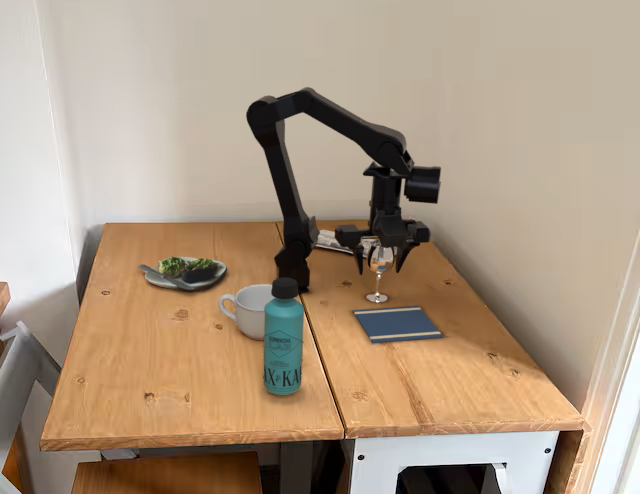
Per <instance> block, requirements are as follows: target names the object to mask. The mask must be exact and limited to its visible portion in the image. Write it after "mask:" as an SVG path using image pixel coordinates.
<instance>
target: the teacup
mask: <svg viewBox="0 0 640 494" xmlns="http://www.w3.org/2000/svg"><path fill="white" fill-rule="evenodd" d="M271 290H272V284H270V283H269V284H268V283H259V284H257V283H256V284H251V285H247V286H244V287H242V288H241V289H239V290H237V292H236V293H235V295H234V294H231V293H223V294H222V295H221V296H220V297H219V298H218V303H217V305H218V309H219V311H220V312H221V313H222V314H223V315H224V316H226V317H227V318H229V319H231V320H232V321H233V323H235V324H237V327H238V329H239V331H241V332H242V333H243V334H244V335H246V336H247V337H249V338H250V339H253V340H256V341H264V339H263V336H264V318H265V312H264V307H265V305H266V304H267V303H268V302H269V301H271V300H272V299H274V298H275V297H273V296H272V295H271ZM227 300H228V301H230V302H231V303H232V305H233V307H234V309H235V313H234V312H232V311H231V310H229V309H227V307H226V306H225V304H224V302H225V301H227Z"/></svg>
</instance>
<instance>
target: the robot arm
mask: <svg viewBox="0 0 640 494" xmlns="http://www.w3.org/2000/svg"><path fill="white" fill-rule="evenodd" d="M299 114H305V115H307V116H309V117H311V118H312V119H313V120H316V121H317V122H319V123H321V124H323V125H325V126H326V127H328V128H330V129H331V130H333V131H335V132H336V133H338V134H340V135H342V136H343V137H345V138H347V139H349V140H351V141H352V142H354V143H355V144H356V145H358V146H359V147H360V148H361V150H363V152H364V153H365V155H367V156H368V157H369V158H371V159H372V162H371V163H370V165H368V167H366V168H365V169H364V170H363V172H362V175H363V176H364V177H372V180H371V181H372V183H371V194H370V195H371V197H370V200H368V206H369V208H370V209H369V220H367V227H368V228H364V229H363V228H362V229H359V228H358V227H357V226H356V224H354V223H353V224H352V223H351V224H338V225H337V226H336V227H335V229H334V232H335V239H336V240H337V242H338V243H339V245H340V246H342V247H348V248H349V249H350V250H352V252H353V253H352V255H353V258H354V261H355V264H356V268H357V272H358V274H359V275H360V276H363V272H364V257H363V251H364V246H363V245H362V239H374V240H377V239H378V240H380V244H381V246H382V247H384V248H390V247H397V254H396V255H395V262H394V265H395V272H396V274H399V273H400V271H401V269H402V267H403V266H404V263H405V261H406V259H407V257H408V255H409V254H410V252H411V251H412V250H413V249H415V248H416V247H420V246H421V244H424V243H430V242H431V234H432V231H431V229H430V228H429V227H428V226H427V225H426V224H425V223H424V222H423V221H422V220H415V219H403V217H402V207H401V206H400V205H401V195H402V184H403V180H404V186H403V196H404V197H405V199H408V202H411V203H421V204H422V203H423V204H434V205H438V204H439V200H440V199H439V198H440V192H441V184H442V182H441V173H442V167H441V166H438V165H437V166H436V165H435V166H433V165H432V166H421V165H416V163H415V161H414V159H413V158H412V156H411V155H410V153H409V151H408V150H407V145H408V143H407V139H406V137H405V134H404V133H402V132H401V131H399V130H397V129H394V128H391V127H389V126H385V125H381V124H379V123H378V124H377V123H373V122H369V121H367V120H365V119H363V118H362V117H360V116H358V115H357V114H355V113H353V112H352V111H349V110H348V109H347V108H345V107H342V106H341V105H339V104H337V103H336V102H335V101H333V100H330V99H329V98H327V97H325V96H324V95H322V94H320V93H318V92H317V91H316V90H315V89H314V88H312V87H310V86H306V87H302V88H301V89H299V90H297V91H293V92H290V93H287V94H286V93H285V94H283V95H281V96H277V97H275V96H274V95H264V96H262V97H259V98H258V99H257V100H254V101H253V102H252V103H251V104H249V105H248V108H247V110H246V113H245V119H246V123H247V124H248V127H249V129H250V131H251V133H252V135H253V137H254V139H255V140H256V142H257V143H258V144H259V146H260V147H261V148H262V150H263V153H264V156H265V160H266V163H267V166H268V169H269V174H270V176H271V180H272V183H273V186H274V190H275V194H276V197H277V200H278V204H279V208H280V210H281V214H282V220H283V225H282V227H283V228H282V236H283V245H282V247H280V249H279V251H278V252H277V253H276V254H275V255H274V257H273V260H274V263H275V266H276V272H275V273H276V277H275V279H278V278H292V279H294V280H296V281H297V283H298V294H305V293H306V294H307V293H309V292H310V290H309V288H308V287H310V281H311V280H310V279H311V268H310V267H309V265H308V261H307V258H309V257H310V255H311V254H312V252H313V251H314V250H315V247H317V246H316V244H317V242H318V236H319V234H320V231H321V230H319V229H318V226H317V218H316V216H315V215H311V216H308V214H307V213H306V212H305V209H304V207H303V204H302V203H303V202H302V199H301V196H300V193H299V189H298V184H297V181H296V178H295V174H294V171H293V167H292V164H291V159H290V156H289V152H288V149H287V145H286V140H285V139H286V119H289V118H292V117H294V116H296V115H299Z"/></svg>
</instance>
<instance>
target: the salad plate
mask: <svg viewBox="0 0 640 494" xmlns="http://www.w3.org/2000/svg"><path fill="white" fill-rule="evenodd" d="M137 266H138V269H139V271H142V272H144V273H145V274H144V278H145V280H147V282H148V283H150V284H152V285H155V286H157V287H160V288H164V289H169V290H175V291H179V292H185V293H200V292H205V291H207V290H208V291H209V290H210V289H213V288H214V287H215V286H217V284H219V283H220V282H221V281H222V280H223V279H224V278H225V276H226V274H227V272H228V267H227V265H226V264H225V263H224V262H222V261H220V260H215V259H209V258H205V257H204V258H203V257H199V258H195V257H190V256H181V255H180V256H169V257H166V258H164V259H162V260H161V259H158V263H157V264H156V265H155V266H153V267H150V266H148V265H146V264H139V265H137Z"/></svg>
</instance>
